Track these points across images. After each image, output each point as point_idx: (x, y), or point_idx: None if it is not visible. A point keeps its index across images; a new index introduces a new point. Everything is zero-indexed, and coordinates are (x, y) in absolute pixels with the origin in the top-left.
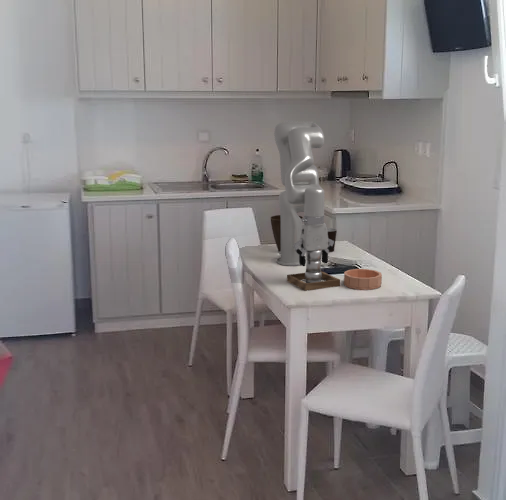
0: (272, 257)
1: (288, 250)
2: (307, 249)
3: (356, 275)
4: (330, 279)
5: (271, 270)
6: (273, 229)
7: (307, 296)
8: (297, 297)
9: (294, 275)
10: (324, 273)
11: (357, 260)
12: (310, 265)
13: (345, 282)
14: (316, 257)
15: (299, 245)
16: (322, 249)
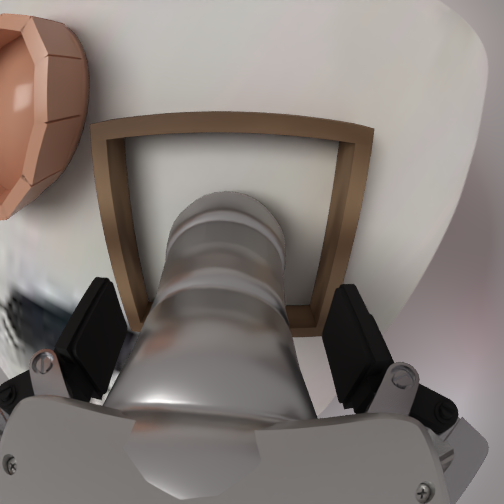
0: None
1: None
2: (413, 428)
3: (1, 195)
4: (122, 208)
5: None
6: None
7: (400, 42)
8: (443, 67)
9: (292, 325)
10: (126, 285)
11: (16, 363)
12: (276, 286)
13: (76, 103)
14: (221, 325)
15: (448, 469)
16: (97, 407)
